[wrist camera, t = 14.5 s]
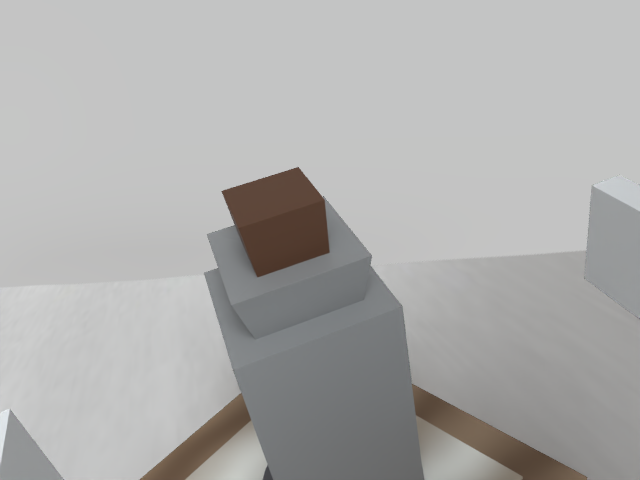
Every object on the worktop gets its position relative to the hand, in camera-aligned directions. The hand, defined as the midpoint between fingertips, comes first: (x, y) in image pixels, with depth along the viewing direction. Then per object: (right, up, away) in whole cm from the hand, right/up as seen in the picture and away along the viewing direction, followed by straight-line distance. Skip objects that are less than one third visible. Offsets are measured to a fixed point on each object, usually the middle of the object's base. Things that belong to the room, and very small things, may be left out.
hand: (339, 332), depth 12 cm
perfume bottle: (+1, -11, +19) cm, 22 cm away
